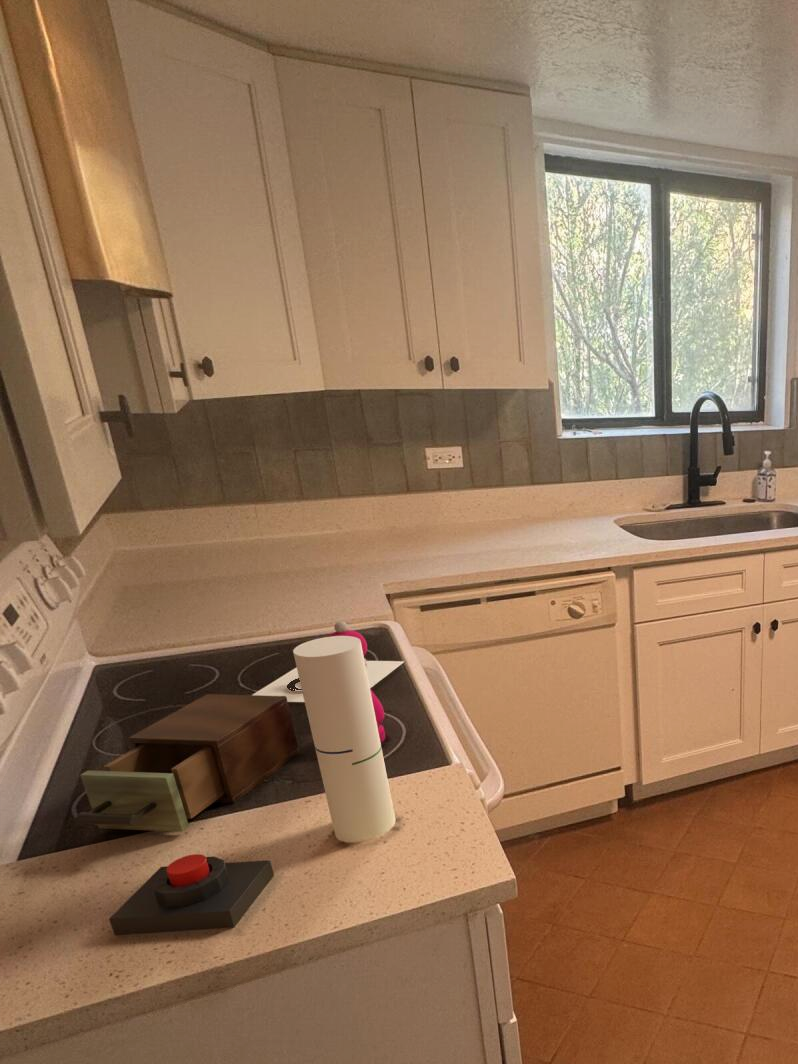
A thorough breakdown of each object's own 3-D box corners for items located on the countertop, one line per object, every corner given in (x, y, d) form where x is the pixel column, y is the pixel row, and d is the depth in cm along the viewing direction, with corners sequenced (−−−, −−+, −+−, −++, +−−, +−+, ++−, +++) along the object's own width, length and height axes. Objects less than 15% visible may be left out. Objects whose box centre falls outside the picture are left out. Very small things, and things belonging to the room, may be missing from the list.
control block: (114, 936, 82) (103, 904, 81) (166, 882, 91) (156, 853, 89) (234, 928, 83) (225, 897, 82) (274, 875, 92) (266, 846, 90)
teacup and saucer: (306, 674, 150) (302, 654, 148) (346, 675, 149) (342, 655, 148) (277, 693, 142) (272, 672, 140) (320, 694, 141) (315, 673, 140)
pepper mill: (342, 734, 126) (317, 617, 119) (391, 728, 128) (369, 612, 121) (335, 755, 119) (308, 632, 112) (386, 748, 121) (362, 626, 114)
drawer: (156, 851, 95) (138, 795, 92) (69, 847, 96) (48, 792, 93) (254, 778, 111) (241, 728, 109) (179, 775, 112) (164, 726, 109)
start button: (163, 888, 84) (158, 875, 83) (182, 868, 87) (178, 855, 87) (198, 886, 84) (194, 873, 84) (216, 866, 88) (212, 853, 87)
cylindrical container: (338, 817, 103) (298, 640, 94) (396, 807, 105) (363, 632, 97) (331, 847, 97) (288, 660, 88) (394, 835, 99) (358, 651, 90)
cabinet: (233, 803, 107) (216, 740, 103) (147, 800, 108) (127, 737, 104) (299, 752, 120) (286, 695, 117) (222, 750, 121) (207, 693, 118)
